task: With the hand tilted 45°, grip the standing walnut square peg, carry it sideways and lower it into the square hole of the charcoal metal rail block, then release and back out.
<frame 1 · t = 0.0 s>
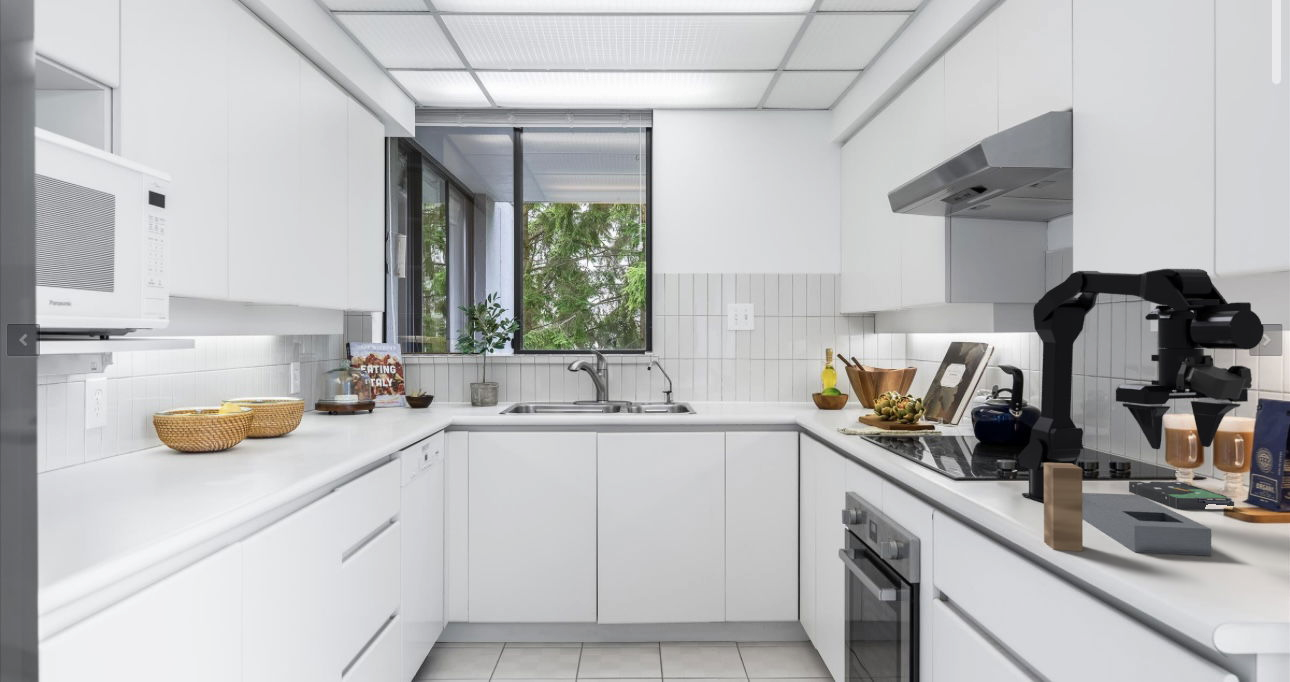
hand: (1181, 447, 109), 15 cm above the worktop, tool pointing down, fingers open, 9 cm apart
disk drive: (1178, 503, 135), on the worktop
walnut peg: (1062, 546, 107), on the worktop
rail block: (1152, 542, 109), on the worktop
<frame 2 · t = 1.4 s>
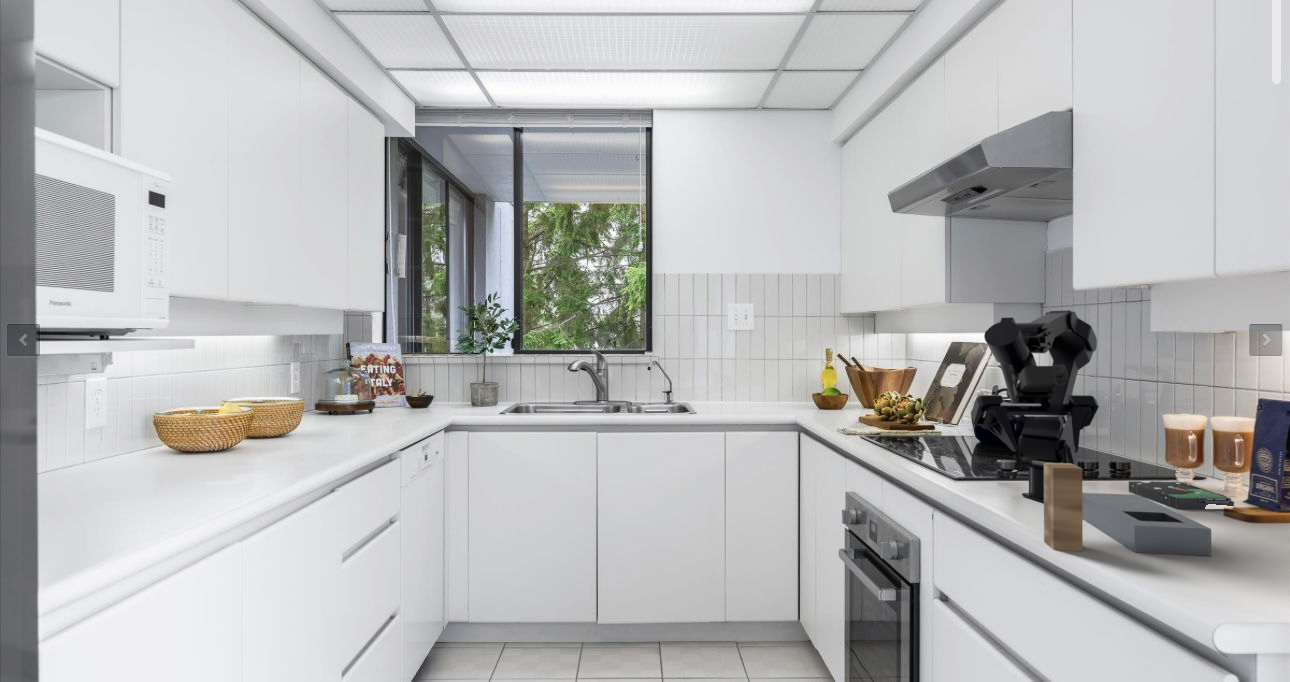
hand: (1045, 450, 115), 13 cm above the worktop, tool tilted 45°, fingers open, 9 cm apart
nothing on the worktop moved.
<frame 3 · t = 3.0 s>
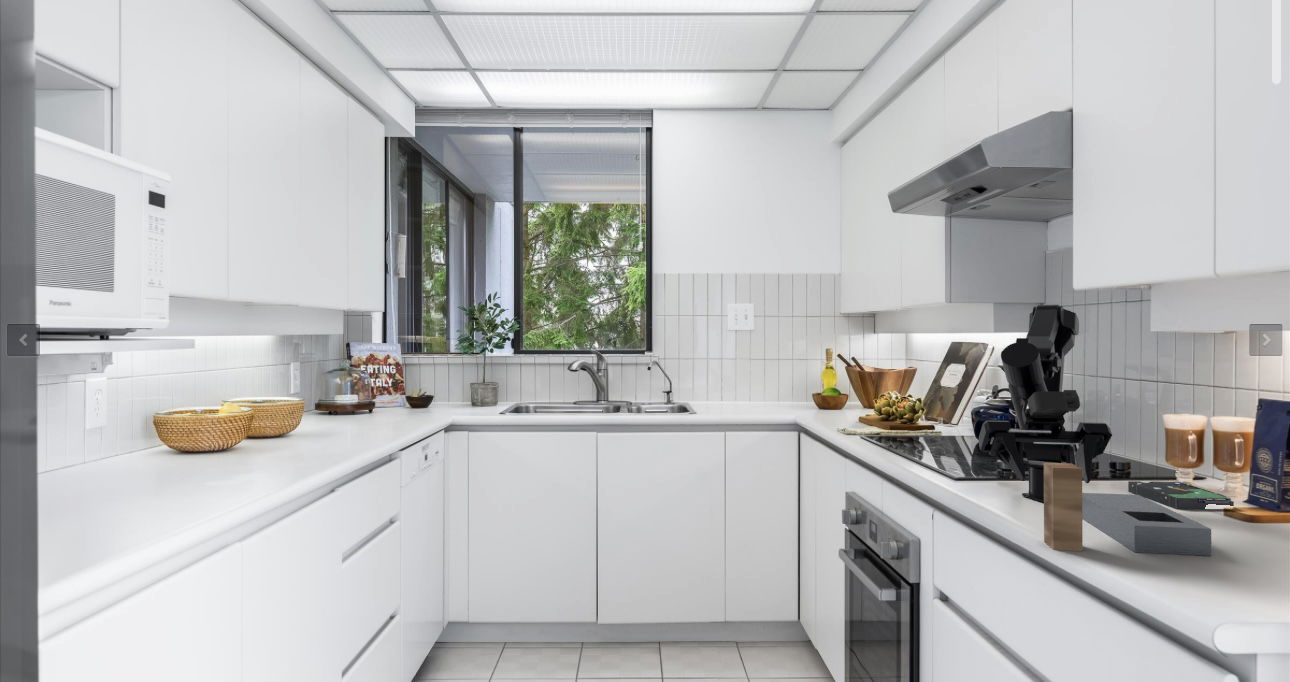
hand: (1055, 480, 109), 10 cm above the worktop, tool tilted 45°, fingers open, 9 cm apart
nothing on the worktop moved.
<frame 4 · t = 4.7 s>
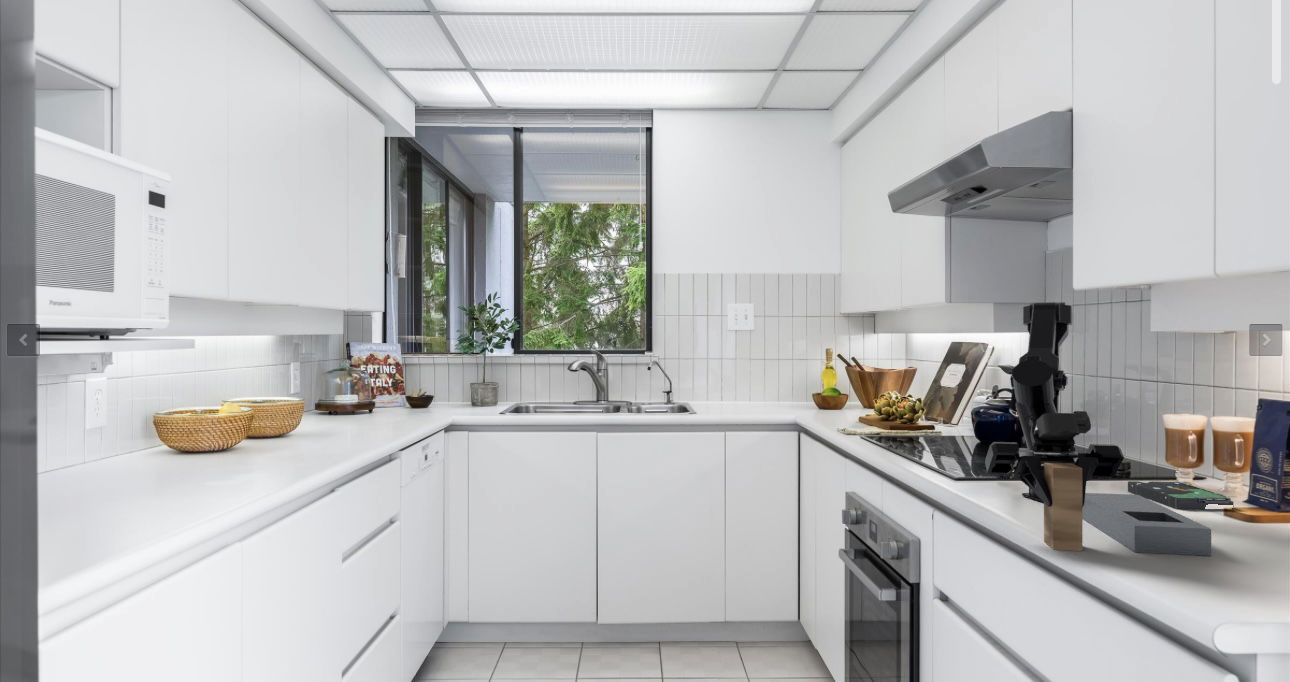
hand: (1066, 505, 106), 7 cm above the worktop, tool tilted 45°, fingers closed on walnut peg, 4 cm apart
walnut peg: (1062, 546, 107), on the worktop, touching gripper
everything else where it was.
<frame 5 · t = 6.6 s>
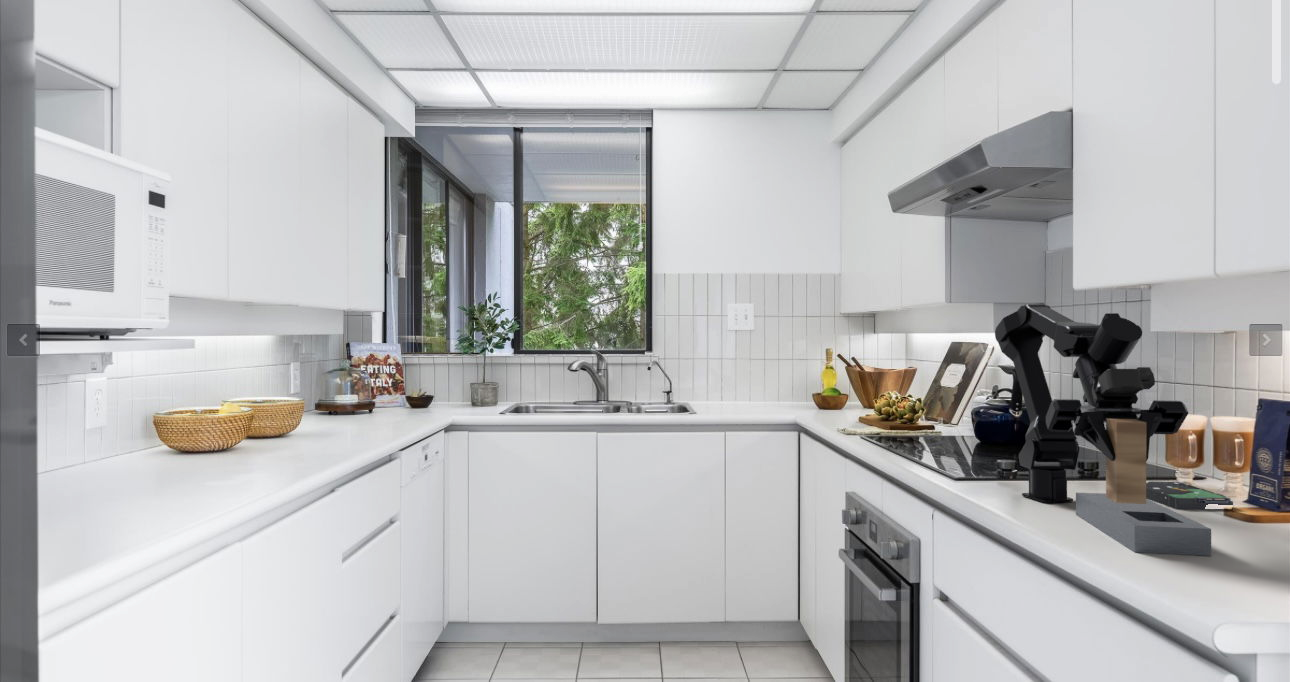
hand: (1129, 459, 107), 13 cm above the worktop, tool tilted 45°, fingers closed on walnut peg, 4 cm apart
walnut peg: (1125, 500, 108), point 7 cm above the worktop, touching gripper
everything else where it was.
when the fingers open (8 cm above the worktop, at t = 8.5 s): walnut peg drops 1 cm, resting in rail block.
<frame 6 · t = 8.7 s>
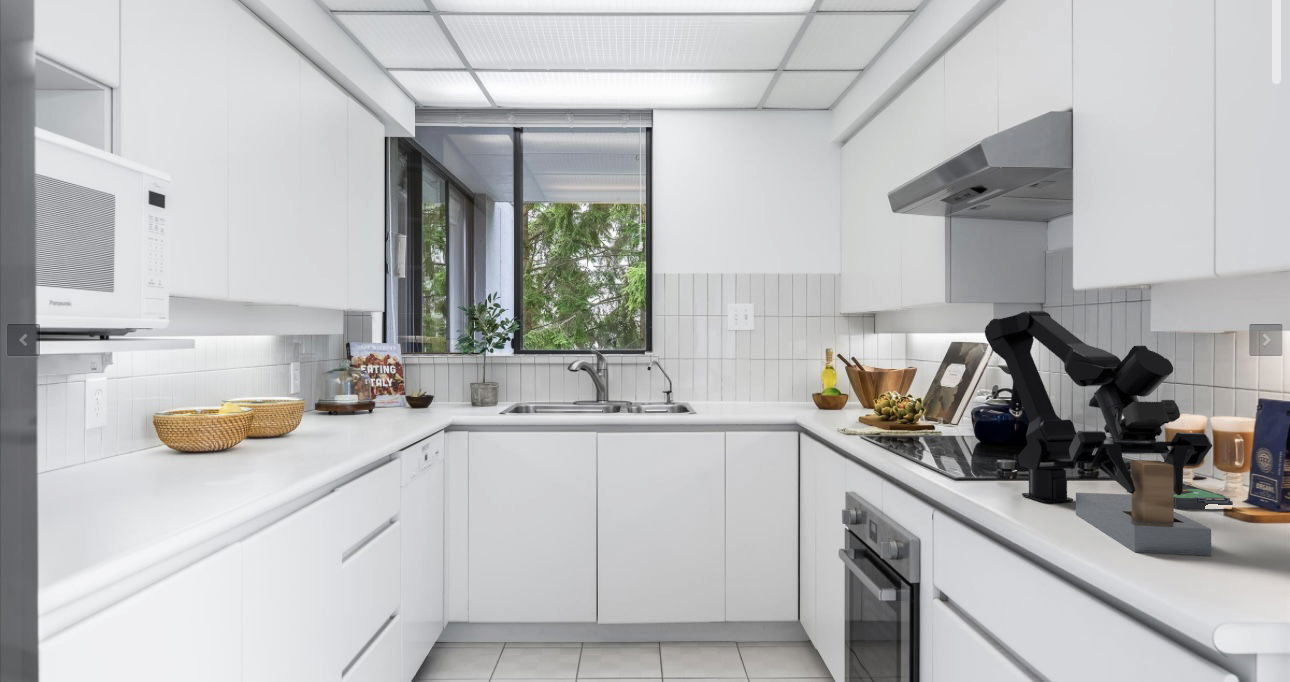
hand: (1156, 492, 107), 8 cm above the worktop, tool tilted 45°, fingers open, 6 cm apart
walnut peg: (1152, 542, 109), resting in rail block
everything else where it was.
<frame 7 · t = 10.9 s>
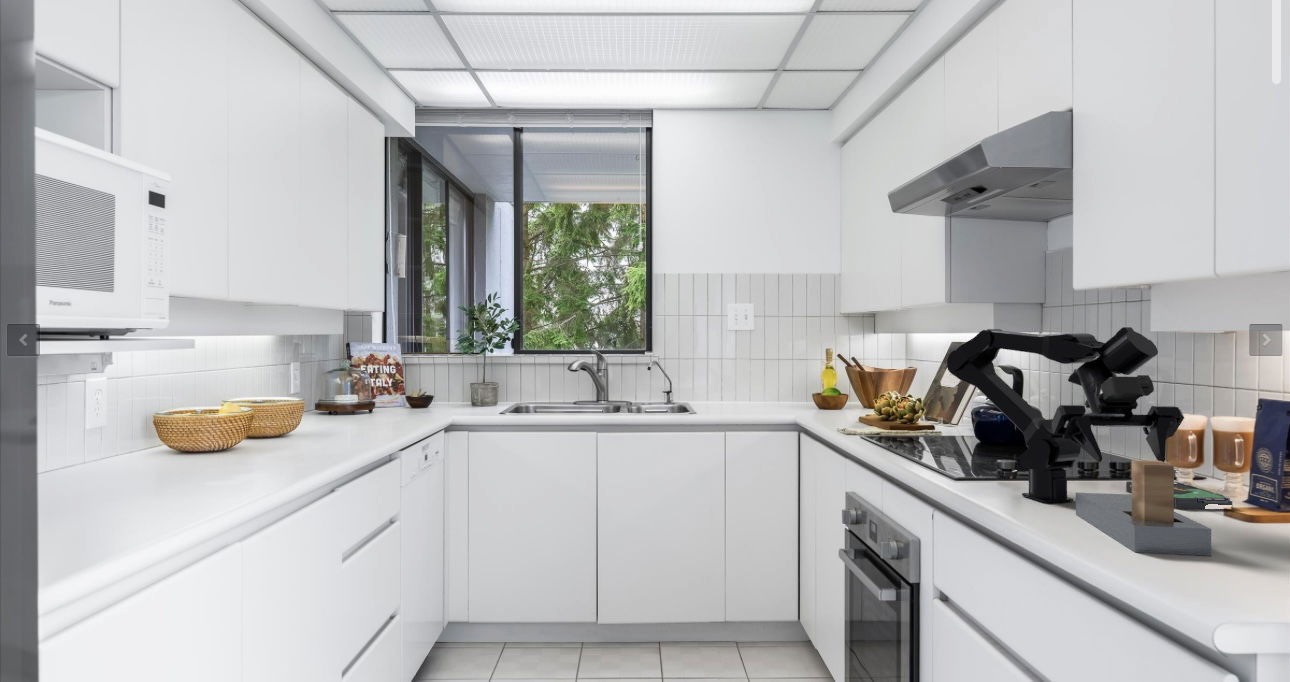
hand: (1131, 461, 115), 12 cm above the worktop, tool tilted 45°, fingers open, 9 cm apart
nothing on the worktop moved.
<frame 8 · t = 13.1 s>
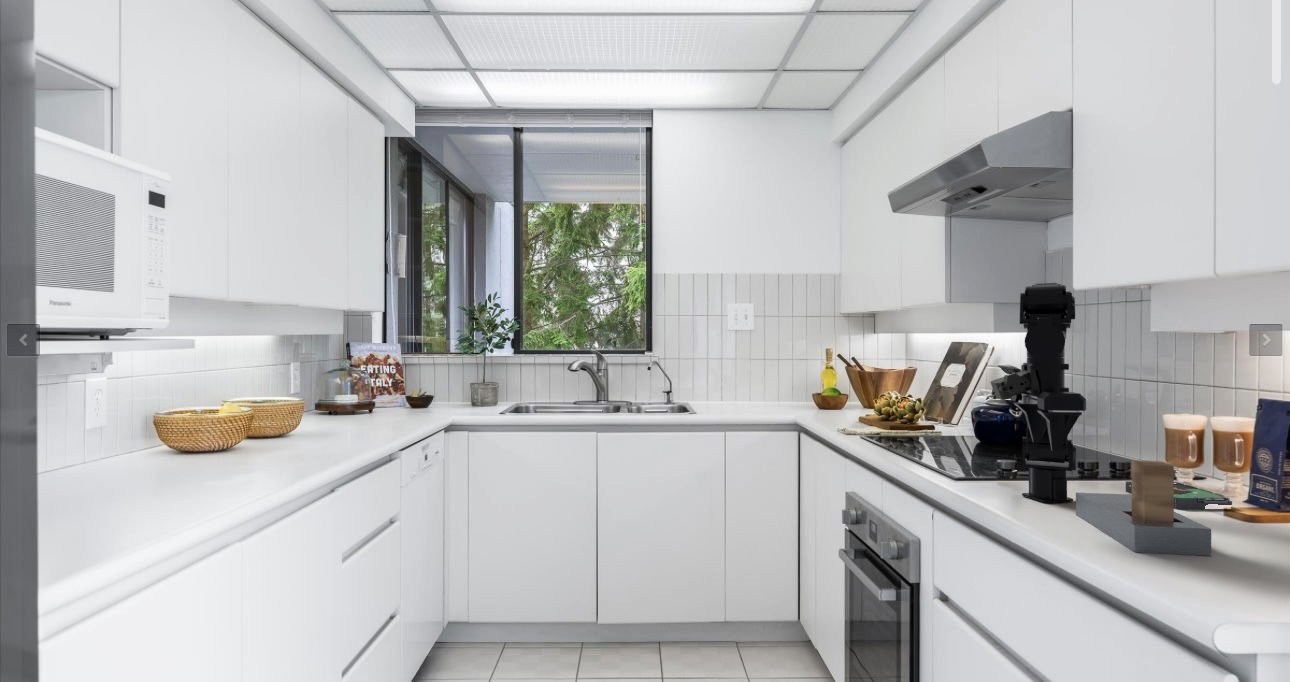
hand: (1045, 446, 121), 13 cm above the worktop, tool pointing down, fingers open, 9 cm apart
nothing on the worktop moved.
at the end: walnut peg 0.0 cm off-centre on the rail block, point 0.0 cm above the rail block's base; walnut peg tilted 0°; the gripper is holding nothing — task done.
